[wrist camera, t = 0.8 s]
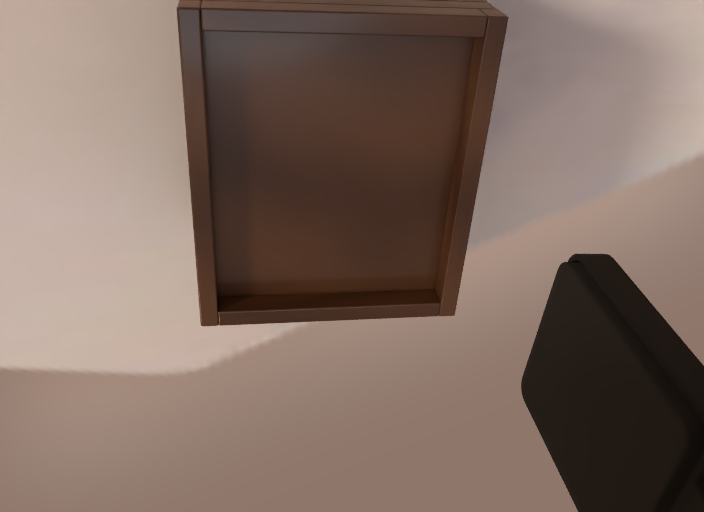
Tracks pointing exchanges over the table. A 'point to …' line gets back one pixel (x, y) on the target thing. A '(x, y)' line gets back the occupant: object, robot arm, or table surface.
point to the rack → (334, 153)
